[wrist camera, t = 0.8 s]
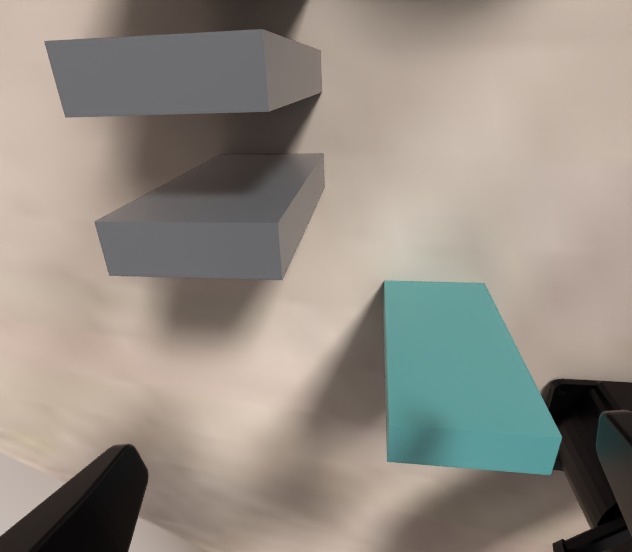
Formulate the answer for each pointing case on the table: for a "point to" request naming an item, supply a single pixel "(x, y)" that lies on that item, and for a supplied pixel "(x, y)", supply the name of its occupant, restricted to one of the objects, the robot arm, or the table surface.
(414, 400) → the domino
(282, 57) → the domino
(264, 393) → the table surface
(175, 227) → the domino
